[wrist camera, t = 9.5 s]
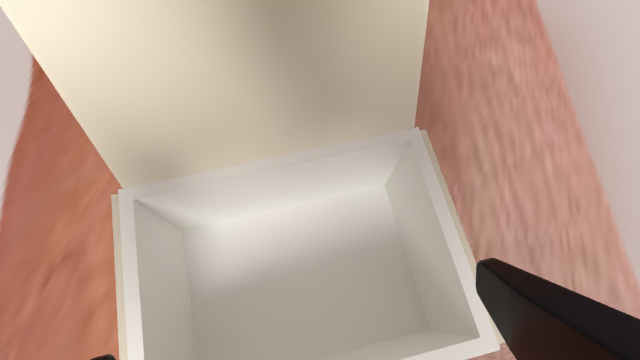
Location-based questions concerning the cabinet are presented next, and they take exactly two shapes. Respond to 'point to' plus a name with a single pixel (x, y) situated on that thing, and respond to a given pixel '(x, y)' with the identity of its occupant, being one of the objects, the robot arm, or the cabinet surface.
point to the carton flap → (225, 75)
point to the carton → (301, 260)
